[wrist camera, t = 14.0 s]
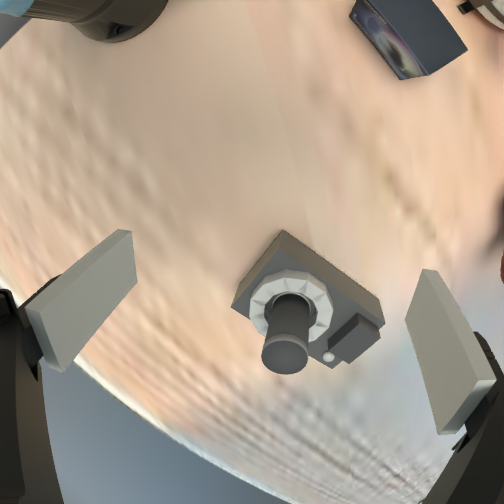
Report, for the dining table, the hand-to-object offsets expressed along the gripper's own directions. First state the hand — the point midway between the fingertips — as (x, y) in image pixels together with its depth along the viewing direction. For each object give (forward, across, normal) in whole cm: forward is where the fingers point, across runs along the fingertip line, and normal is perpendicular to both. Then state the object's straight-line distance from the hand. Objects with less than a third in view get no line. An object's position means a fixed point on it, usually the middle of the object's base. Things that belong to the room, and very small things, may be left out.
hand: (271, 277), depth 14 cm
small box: (+29, +10, +18) cm, 36 cm away
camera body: (+29, +4, -19) cm, 34 cm away
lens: (+23, +2, -17) cm, 29 cm away
